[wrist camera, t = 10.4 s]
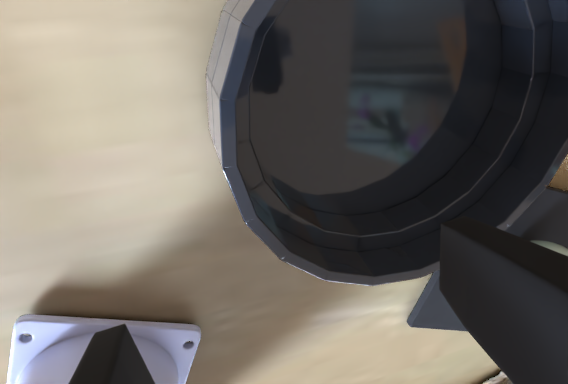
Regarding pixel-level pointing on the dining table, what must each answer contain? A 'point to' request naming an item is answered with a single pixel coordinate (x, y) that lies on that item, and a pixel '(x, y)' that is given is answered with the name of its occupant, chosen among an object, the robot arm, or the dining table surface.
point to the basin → (385, 123)
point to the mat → (529, 225)
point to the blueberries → (499, 379)
